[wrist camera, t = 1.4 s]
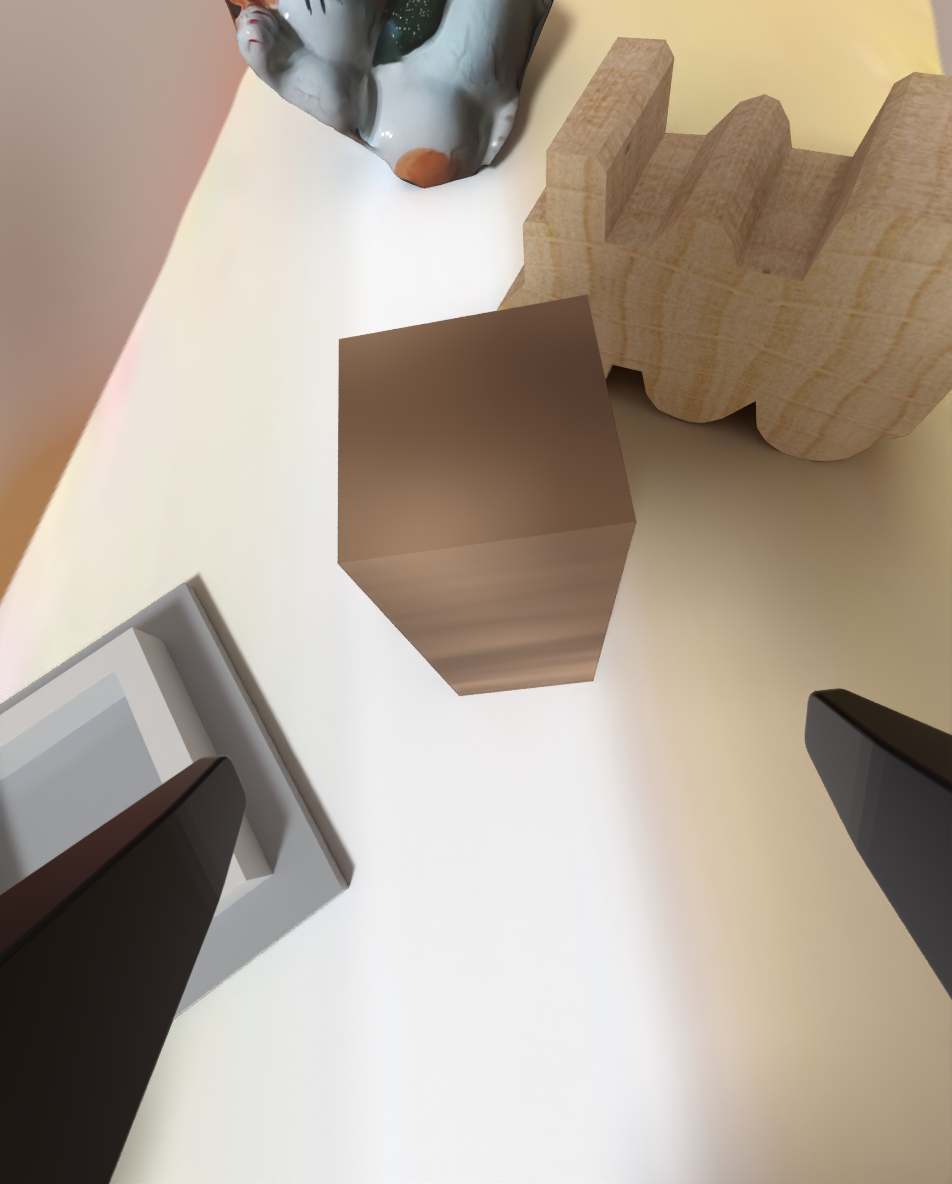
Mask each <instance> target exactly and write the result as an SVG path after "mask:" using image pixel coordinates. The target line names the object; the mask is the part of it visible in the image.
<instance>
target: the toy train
mask: <svg viewBox="0 0 952 1184" xmlns="http://www.w3.org/2000/svg"><path fill="white" fill-rule="evenodd" d="M673 63H674V56H673V54H672V52H671V50H670V48H669V46H668V44H667V42H666V40H658V39H640V38H622V37H618V38H617V39H616V41H615V43H614V44H613V46H612V47H611V49H610V50H609V52H608V54H607V55H606V57H605V58H604V60H603V62H602V63H601V65H600V66H599V68H598V70H597V71H596V73H595V74H594V76H593V78H592V79H591V81H590V82H589V84H588V86H587V87H586V89H585V90H584V92H583V93H582V95H581V97H580V98H579V100H578V101H577V103H576V105H575V106H574V108H573V109H572V111H571V113H570V114H569V116H568V117H567V119H566V121H565V122H564V124H563V125H562V127H561V129H560V130H559V132H558V133H557V135H556V137H555V138H554V140H553V141H552V143H551V144H550V146H549V148H548V149H547V165H546V188H545V189H544V191H543V193H542V194H541V196H540V197H539V199H538V201H537V202H536V204H535V206H534V207H533V209H532V211H531V212H530V214H529V215H528V217H527V219H526V220H525V222H524V224H523V241H524V265H523V267H522V269H521V270H520V272H519V274H518V276H517V277H516V279H515V281H514V282H513V284H512V286H511V287H510V289H509V291H508V292H507V294H506V296H505V297H504V299H503V301H502V302H501V304H500V306H499V307H498V309H497V311H499V310H504V309H510V308H516V307H521V306H527V305H532V304H538V303H543V302H549V301H554V300H560V299H566V298H571V297H577V296H582V295H587V296H588V301H589V305H590V310H591V315H592V319H593V324H594V328H595V333H596V338H597V342H598V347H599V352H600V356H601V361H602V366H603V370H604V375H605V380H606V378H607V376H608V374H609V372H610V370H611V368H612V366H613V365H616V366H621V367H625V368H629V369H633V370H637V371H642V374H643V379H644V384H645V389H646V394H647V396H648V397H649V398H650V400H651V401H652V402H653V404H654V405H655V406H656V408H657V409H658V410H660V411H662V412H664V413H667V414H669V415H671V416H673V417H676V418H679V419H682V420H685V421H688V422H695V423H705V422H710V421H714V420H719V419H723V418H725V417H726V416H728V415H730V414H732V413H734V412H736V411H738V410H740V409H741V408H743V407H745V406H747V405H749V404H751V403H753V402H755V401H756V423H757V429H758V430H759V432H760V433H761V435H762V436H763V438H764V439H765V441H766V442H768V443H769V444H770V445H772V446H773V447H774V448H776V449H777V450H779V451H780V452H782V453H785V454H787V455H791V456H794V457H798V458H801V459H804V460H816V461H830V460H840V459H847V458H849V457H851V456H853V455H855V454H857V453H860V452H862V451H864V450H866V449H868V448H869V447H870V446H871V445H872V444H874V443H875V442H876V441H877V440H878V439H879V438H880V437H882V438H894V439H895V438H898V437H901V436H905V435H908V434H910V433H911V432H912V431H913V429H914V428H915V427H916V426H917V425H918V424H919V423H920V422H921V421H922V420H923V419H924V418H925V417H926V416H927V415H928V414H929V412H930V411H931V410H932V409H933V408H934V407H935V406H936V405H937V404H938V403H939V402H940V401H941V400H942V399H943V398H944V397H945V396H946V394H947V393H948V392H949V391H950V390H951V389H952V77H950V76H942V75H934V74H926V73H918V72H914V73H912V74H910V75H908V76H907V77H905V78H903V79H901V80H900V81H898V82H896V83H894V85H893V87H892V89H891V91H890V93H889V95H888V97H887V99H886V101H885V103H884V104H883V106H882V108H881V109H880V111H879V113H878V115H877V116H876V118H875V120H874V121H873V123H872V125H871V127H870V128H869V130H868V132H867V133H866V135H865V137H864V139H863V140H862V142H861V144H860V145H859V147H858V149H857V151H856V152H855V154H854V156H853V157H848V156H842V155H835V154H828V153H822V152H815V151H809V150H802V149H795V148H792V145H791V135H790V125H789V120H788V118H787V116H786V114H785V112H784V110H783V108H782V105H781V103H780V101H779V100H776V99H774V98H772V97H770V96H768V95H765V94H764V95H761V96H758V97H755V98H751V99H748V100H745V101H742V102H740V103H739V104H738V105H737V106H736V107H735V108H734V109H733V110H732V111H731V112H730V113H729V114H728V115H726V116H725V117H724V118H723V119H722V120H721V121H720V122H719V123H718V124H717V125H716V126H715V127H714V128H713V129H712V130H711V131H710V132H709V133H708V134H707V135H694V134H675V133H665V130H666V122H667V113H668V105H669V96H670V88H671V80H672V71H673Z"/></svg>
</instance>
